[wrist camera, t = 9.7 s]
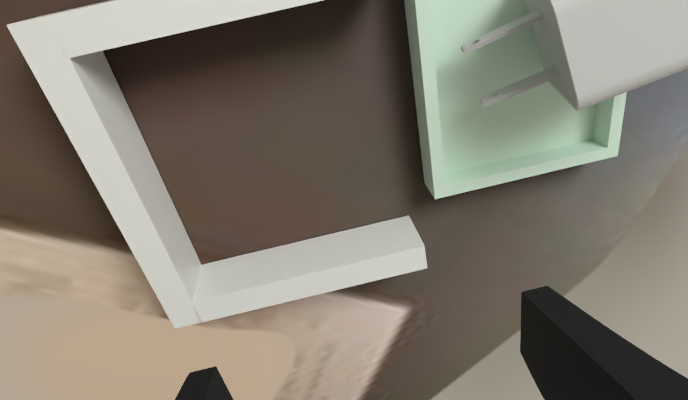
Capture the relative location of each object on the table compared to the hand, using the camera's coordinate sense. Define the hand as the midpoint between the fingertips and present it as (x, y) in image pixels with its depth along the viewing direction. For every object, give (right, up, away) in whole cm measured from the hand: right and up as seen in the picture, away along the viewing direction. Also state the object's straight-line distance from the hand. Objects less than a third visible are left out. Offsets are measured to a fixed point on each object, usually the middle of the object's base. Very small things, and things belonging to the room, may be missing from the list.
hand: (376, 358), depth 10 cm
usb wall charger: (+7, +10, +6) cm, 14 cm away
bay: (-4, +6, +7) cm, 10 cm away
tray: (+6, +10, +7) cm, 13 cm away
